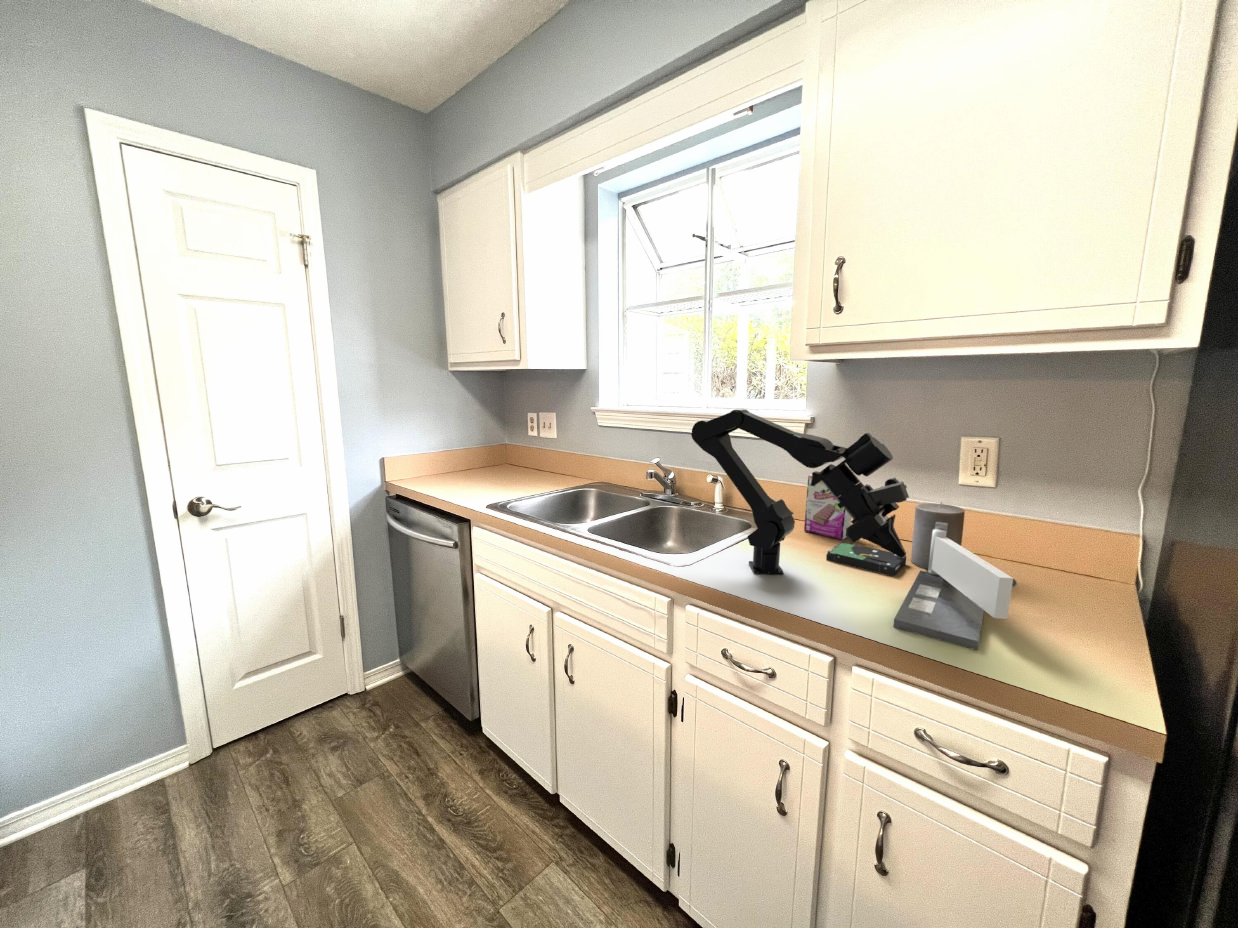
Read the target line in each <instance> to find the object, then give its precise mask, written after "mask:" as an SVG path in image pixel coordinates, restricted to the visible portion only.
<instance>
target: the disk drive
mask: <svg viewBox="0 0 1238 928" xmlns="http://www.w3.org/2000/svg"><path fill="white" fill-rule="evenodd" d="M825 559H826V561H829V562H833V563H837V564H841V565H844V566H845V565H846V566H850V567H853V568H857V569H862V570H866V571H868V572H869V571H870V572H873V573H877V574H881V575H884V576H889V577H894V576H895V575H897V574H898V572H899V571H900V570H901V569H903V568H904V567H905V566H906V565H907V563H906V561H907V555H905V556H903V557H899V556H897V555H895V554H893V553H891V552H890V551H887V550H881V549H877V548H873V547H867V546H864V545H859V544H855V543H851V542H850V543H849V542H844V541H841V542H839V543H838V544H836V545H835V546H834V547H833V548H831V549H830V550H827V553H826V555H825Z"/></svg>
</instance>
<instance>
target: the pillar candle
mask: <svg viewBox="0 0 1238 928" xmlns="http://www.w3.org/2000/svg"><path fill="white" fill-rule="evenodd" d="M914 509H915V511H914V520H913V521H914V522H913V531H912V532H913V533H912V542H911V543H912V544H911V552H910V553H911V555H910V563H912V564H914V565H915V566H918V567H919V568H922V569H924V570H928V566H929V558H930V549H931V540H932V531H933V529H935V523H936V522H942V523H948V526H947V534H946V537H947V538H949V539H950V540H952V541H953V542H955V543H957V544H958V545H960V546H962V541H963V534H964V533H963V532H964V525H965V524H964V523H965V514H966V513H965V512H966V510H965V509H964V508H962V507H959V506H956V505H952V504H945V503H943V502H940V503H935V502H933V503H932V502H925V503H923V502H922V503H917V504H915V508H914Z"/></svg>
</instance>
